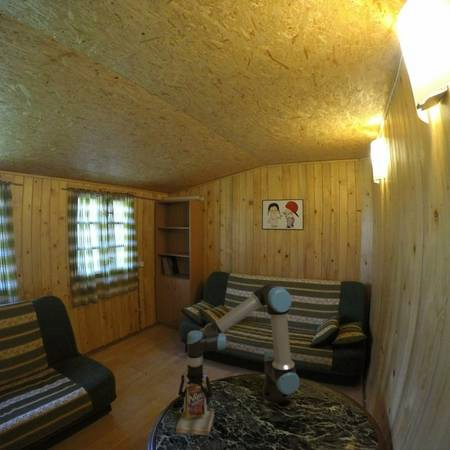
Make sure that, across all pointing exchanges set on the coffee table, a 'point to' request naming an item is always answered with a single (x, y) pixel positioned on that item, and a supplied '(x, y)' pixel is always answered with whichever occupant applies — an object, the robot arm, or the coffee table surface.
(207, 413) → the board
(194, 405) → the candy box
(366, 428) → the coffee table surface
